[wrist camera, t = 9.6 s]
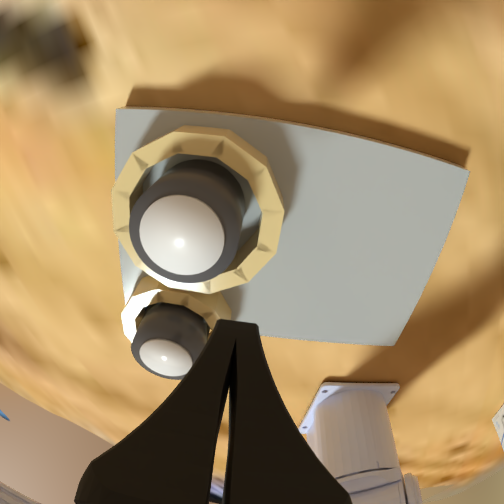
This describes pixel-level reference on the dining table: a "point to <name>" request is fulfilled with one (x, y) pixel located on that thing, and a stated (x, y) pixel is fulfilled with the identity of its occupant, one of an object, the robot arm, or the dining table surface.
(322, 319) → the board
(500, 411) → the light bulb box
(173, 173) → the cap
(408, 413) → the dining table surface
